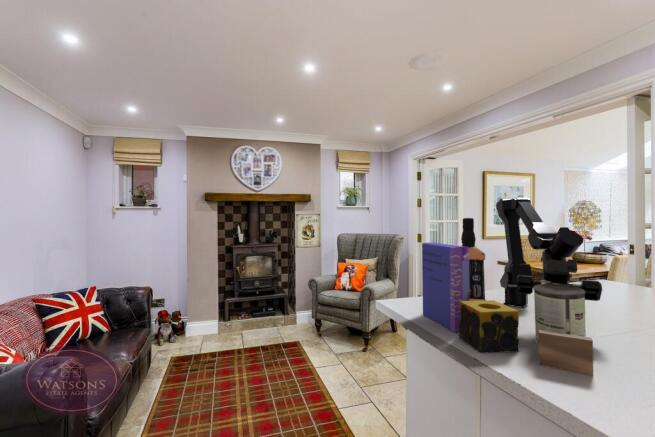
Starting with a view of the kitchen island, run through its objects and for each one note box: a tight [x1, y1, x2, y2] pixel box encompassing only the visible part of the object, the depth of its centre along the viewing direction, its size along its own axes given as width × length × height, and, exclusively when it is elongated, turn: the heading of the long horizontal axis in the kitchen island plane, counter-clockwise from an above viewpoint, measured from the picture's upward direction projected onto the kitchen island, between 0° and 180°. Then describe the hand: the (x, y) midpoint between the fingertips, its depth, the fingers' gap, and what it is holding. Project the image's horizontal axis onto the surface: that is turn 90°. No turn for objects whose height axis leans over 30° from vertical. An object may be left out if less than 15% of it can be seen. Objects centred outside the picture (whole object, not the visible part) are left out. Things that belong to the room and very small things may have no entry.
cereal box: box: [421, 242, 470, 334], centre depth 97 cm, size 17×5×24 cm, turn 12°
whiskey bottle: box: [460, 217, 487, 301], centre depth 114 cm, size 10×10×32 cm
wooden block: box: [537, 330, 594, 376], centre depth 70 cm, size 8×9×7 cm
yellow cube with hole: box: [458, 299, 520, 354], centre depth 80 cm, size 10×10×10 cm
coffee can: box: [533, 284, 587, 345], centre depth 78 cm, size 10×10×14 cm
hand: (558, 314), depth 82 cm, fingers closed, pressing on coffee can
